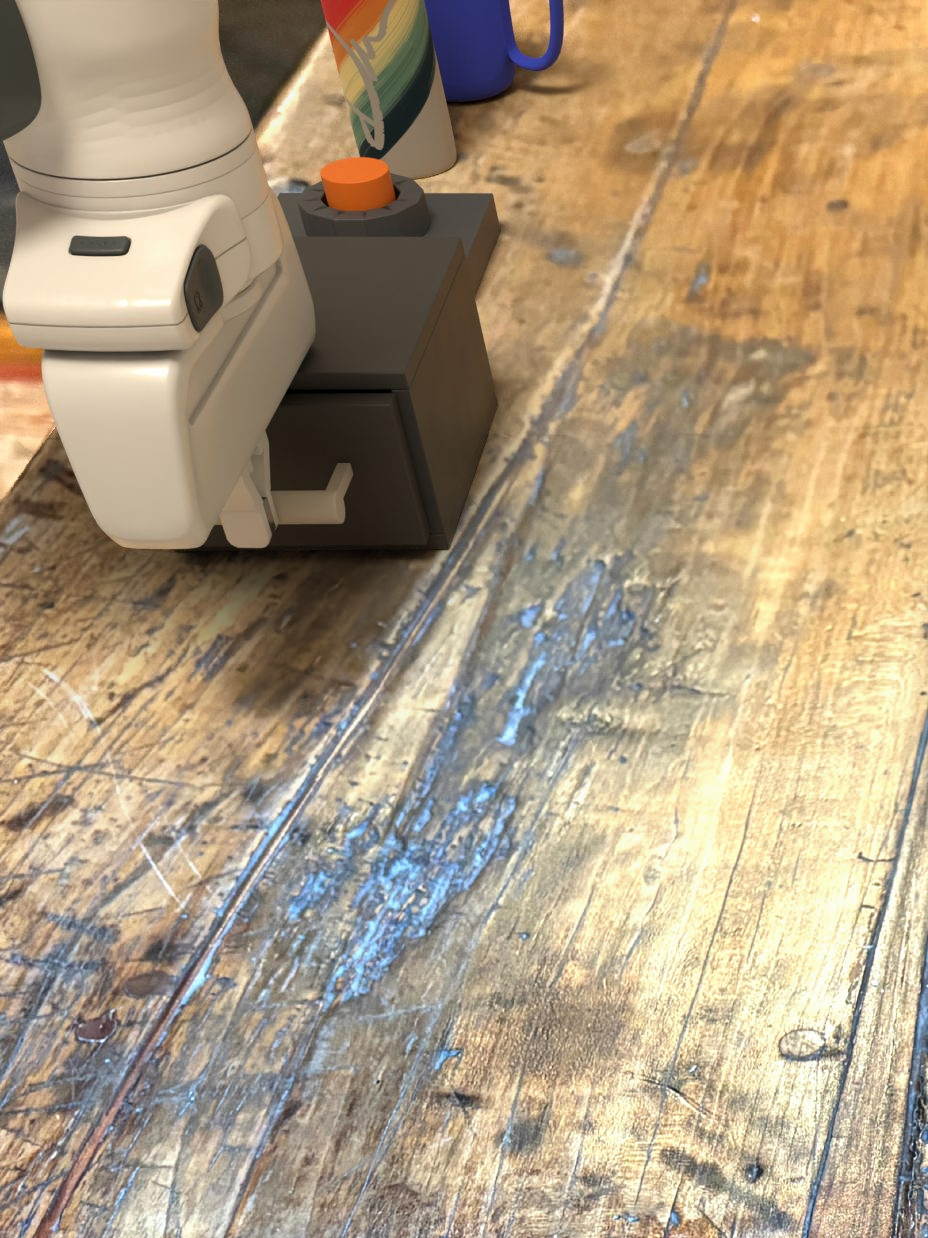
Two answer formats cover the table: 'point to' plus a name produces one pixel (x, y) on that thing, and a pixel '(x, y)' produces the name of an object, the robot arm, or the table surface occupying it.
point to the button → (357, 184)
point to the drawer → (341, 472)
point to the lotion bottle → (392, 84)
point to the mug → (484, 46)
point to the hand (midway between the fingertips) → (255, 538)
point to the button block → (403, 219)
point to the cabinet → (403, 357)
